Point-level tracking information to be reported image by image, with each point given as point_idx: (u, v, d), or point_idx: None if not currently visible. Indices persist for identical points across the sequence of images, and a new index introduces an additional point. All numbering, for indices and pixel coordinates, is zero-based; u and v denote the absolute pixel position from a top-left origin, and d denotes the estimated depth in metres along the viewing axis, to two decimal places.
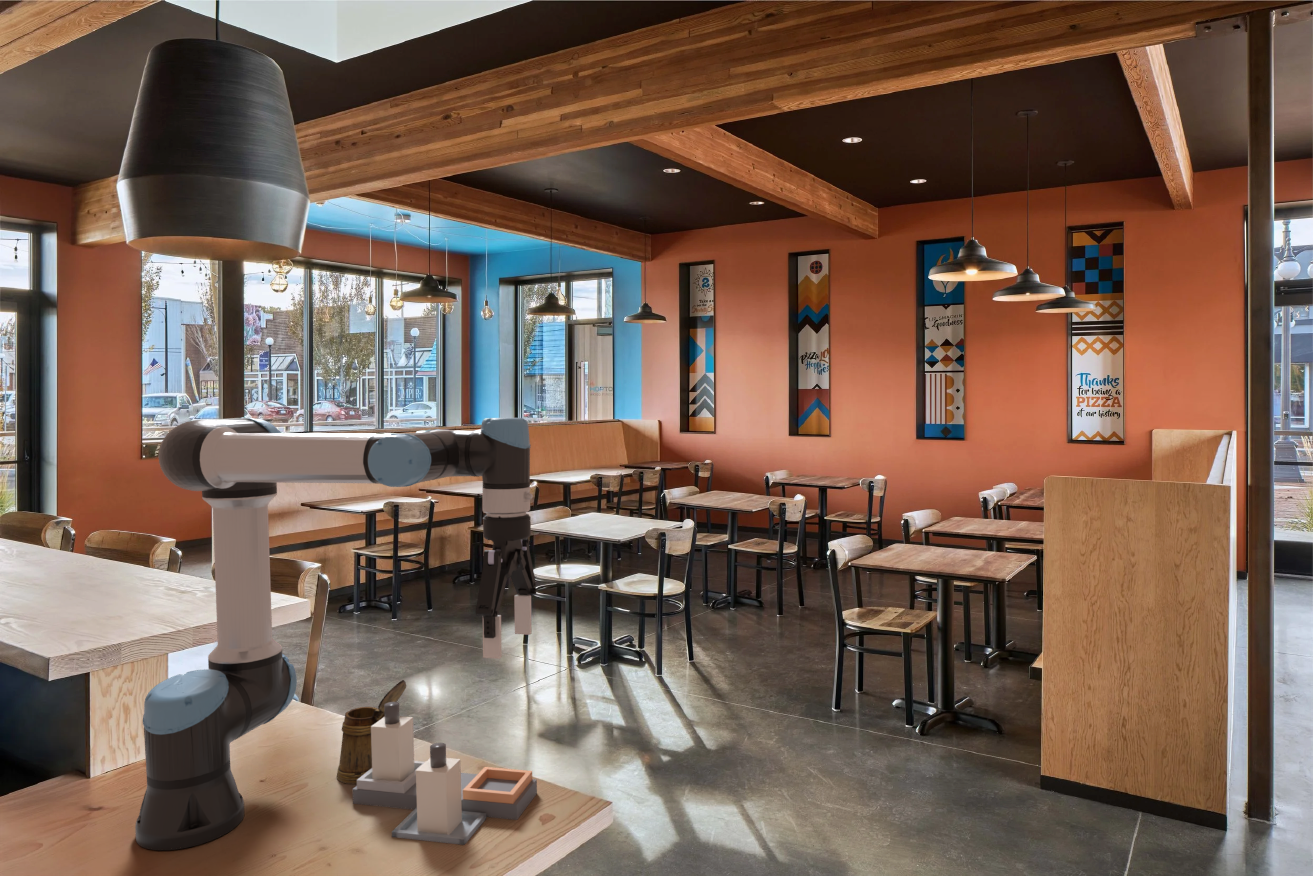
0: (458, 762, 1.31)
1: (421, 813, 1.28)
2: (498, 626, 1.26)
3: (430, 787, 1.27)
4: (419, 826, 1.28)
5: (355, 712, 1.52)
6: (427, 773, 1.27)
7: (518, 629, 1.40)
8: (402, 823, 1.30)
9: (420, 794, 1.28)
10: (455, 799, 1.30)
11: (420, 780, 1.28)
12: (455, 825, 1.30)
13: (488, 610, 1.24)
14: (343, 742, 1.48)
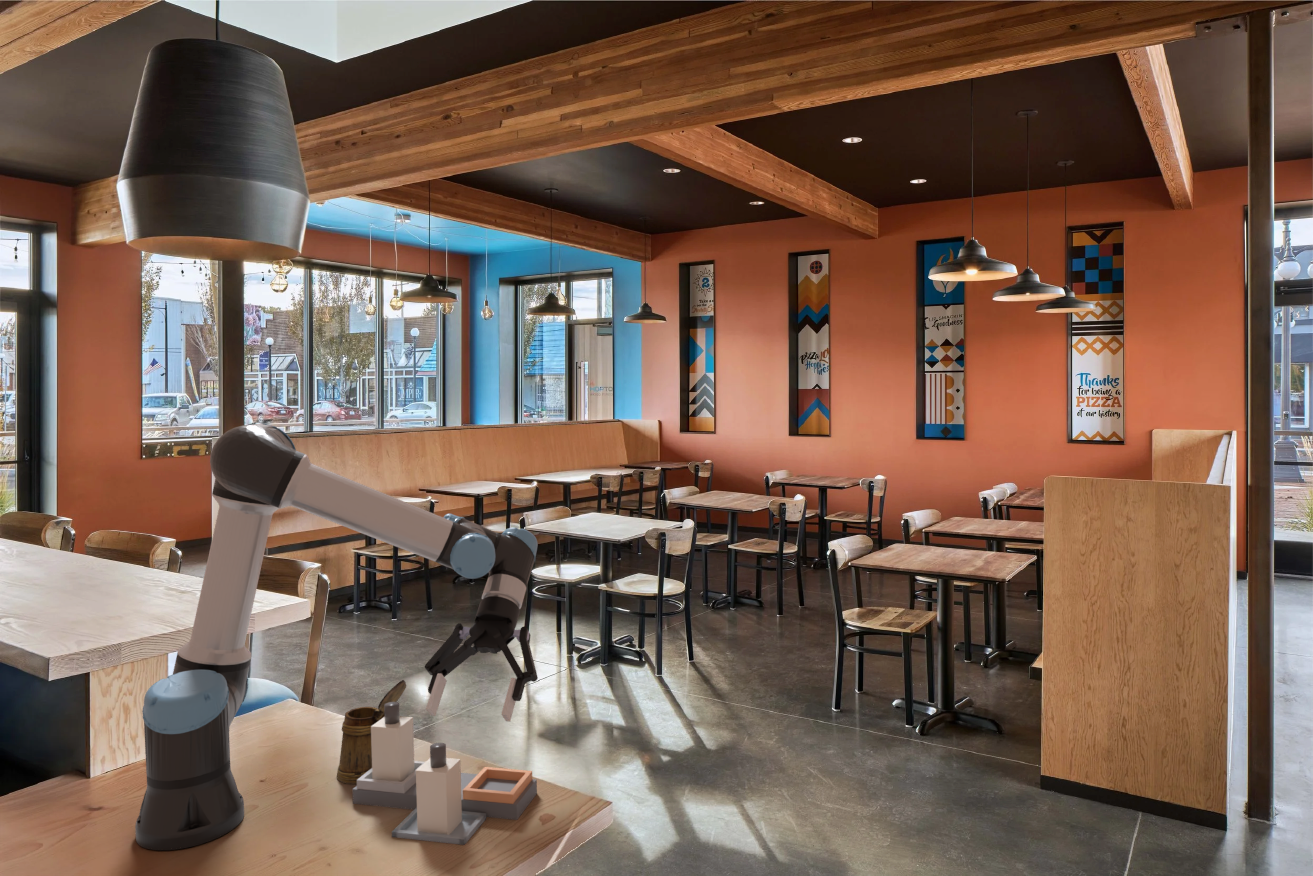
0: (458, 762, 1.31)
1: (421, 813, 1.28)
2: None
3: (430, 787, 1.27)
4: (419, 826, 1.28)
5: (354, 712, 1.52)
6: (427, 773, 1.27)
7: (432, 706, 1.41)
8: (402, 823, 1.30)
9: (420, 794, 1.28)
10: (455, 799, 1.30)
11: (420, 780, 1.28)
12: (455, 825, 1.30)
13: (536, 676, 1.43)
14: (343, 742, 1.48)
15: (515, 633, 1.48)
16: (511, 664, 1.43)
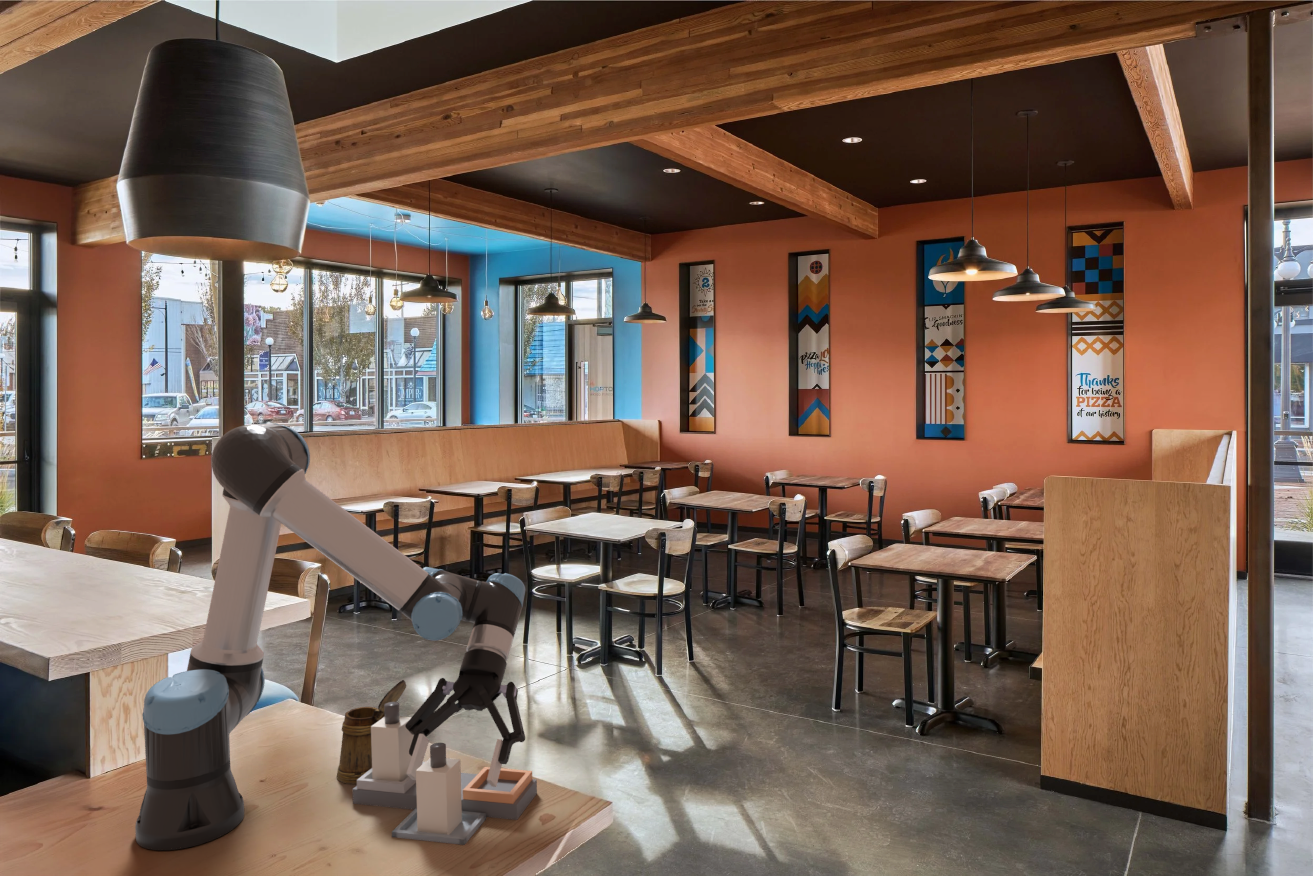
0: (458, 762, 1.31)
1: (421, 813, 1.28)
2: None
3: (430, 787, 1.27)
4: (419, 826, 1.28)
5: (354, 712, 1.52)
6: (427, 773, 1.27)
7: (413, 770, 1.33)
8: (402, 823, 1.30)
9: (420, 794, 1.28)
10: (455, 799, 1.30)
11: (420, 780, 1.28)
12: (455, 825, 1.30)
13: (524, 736, 1.35)
14: (343, 742, 1.48)
15: (501, 689, 1.40)
16: (497, 724, 1.35)
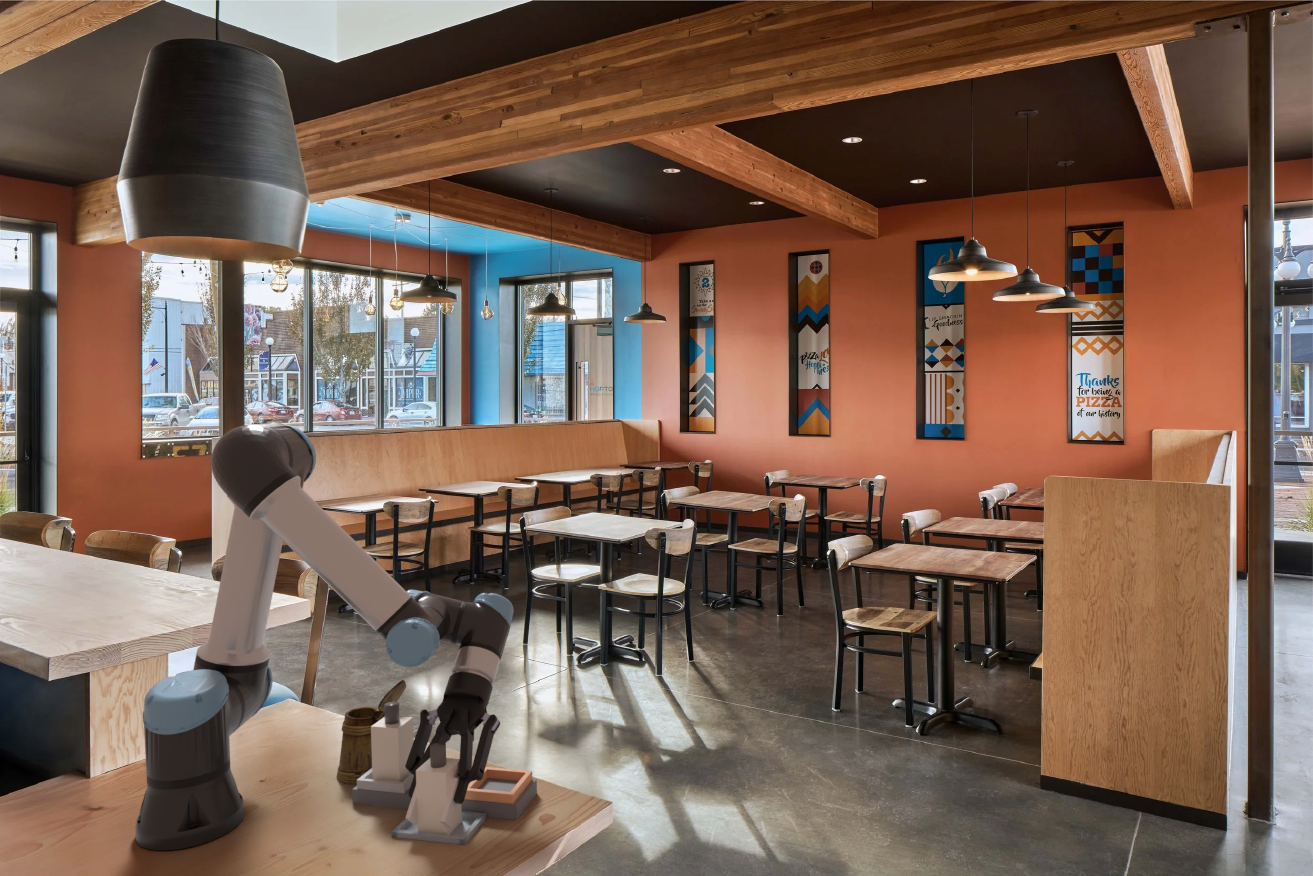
0: (458, 762, 1.31)
1: (421, 813, 1.28)
2: None
3: (430, 787, 1.27)
4: (419, 826, 1.28)
5: (354, 712, 1.52)
6: (427, 773, 1.27)
7: (413, 814, 1.27)
8: (402, 823, 1.30)
9: (420, 794, 1.28)
10: None
11: (420, 780, 1.28)
12: (455, 825, 1.30)
13: (481, 776, 1.31)
14: (343, 742, 1.48)
15: (484, 717, 1.36)
16: (461, 757, 1.31)
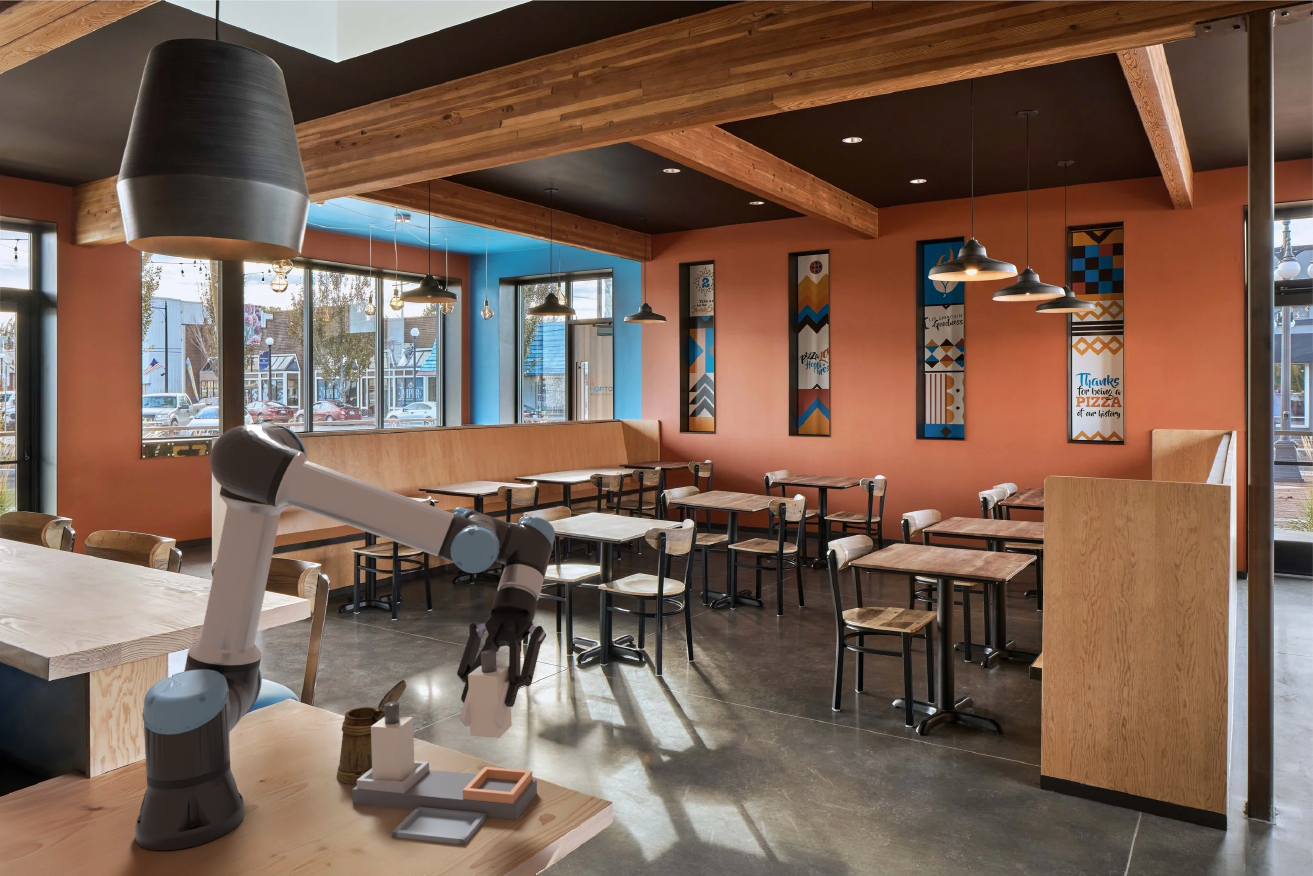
0: (507, 669, 1.37)
1: (473, 716, 1.34)
2: None
3: (482, 690, 1.33)
4: (472, 728, 1.34)
5: (355, 712, 1.52)
6: (479, 677, 1.33)
7: (466, 716, 1.33)
8: (402, 823, 1.30)
9: (472, 697, 1.33)
10: None
11: (472, 684, 1.33)
12: (505, 728, 1.35)
13: (530, 682, 1.36)
14: (343, 742, 1.48)
15: (531, 629, 1.42)
16: (510, 664, 1.37)
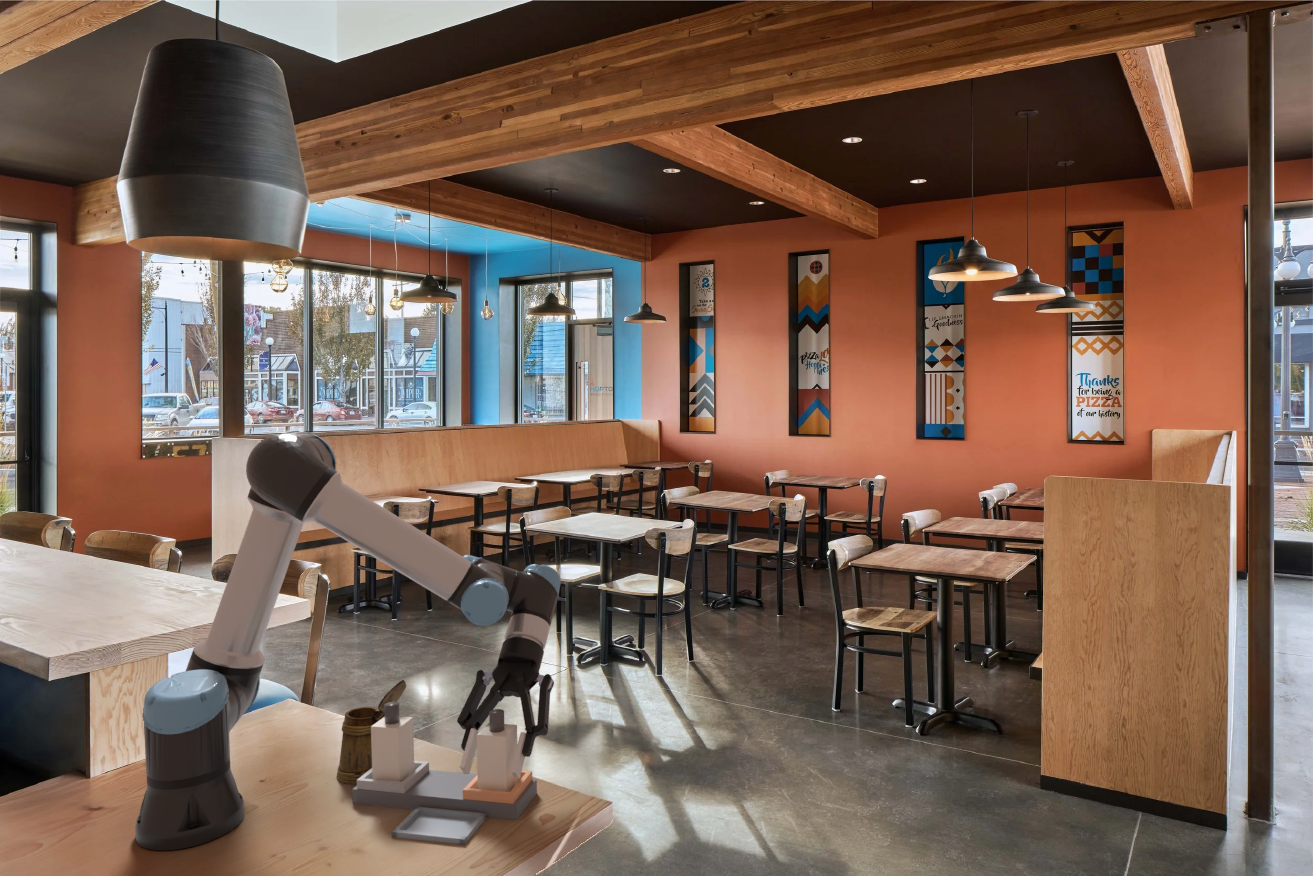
0: (515, 727, 1.38)
1: (481, 775, 1.35)
2: None
3: (490, 750, 1.35)
4: (479, 787, 1.35)
5: (355, 712, 1.52)
6: (488, 737, 1.35)
7: (466, 764, 1.35)
8: (402, 823, 1.30)
9: (480, 757, 1.35)
10: None
11: (480, 743, 1.35)
12: (512, 786, 1.37)
13: (547, 730, 1.38)
14: (343, 742, 1.48)
15: (539, 678, 1.44)
16: (524, 715, 1.39)
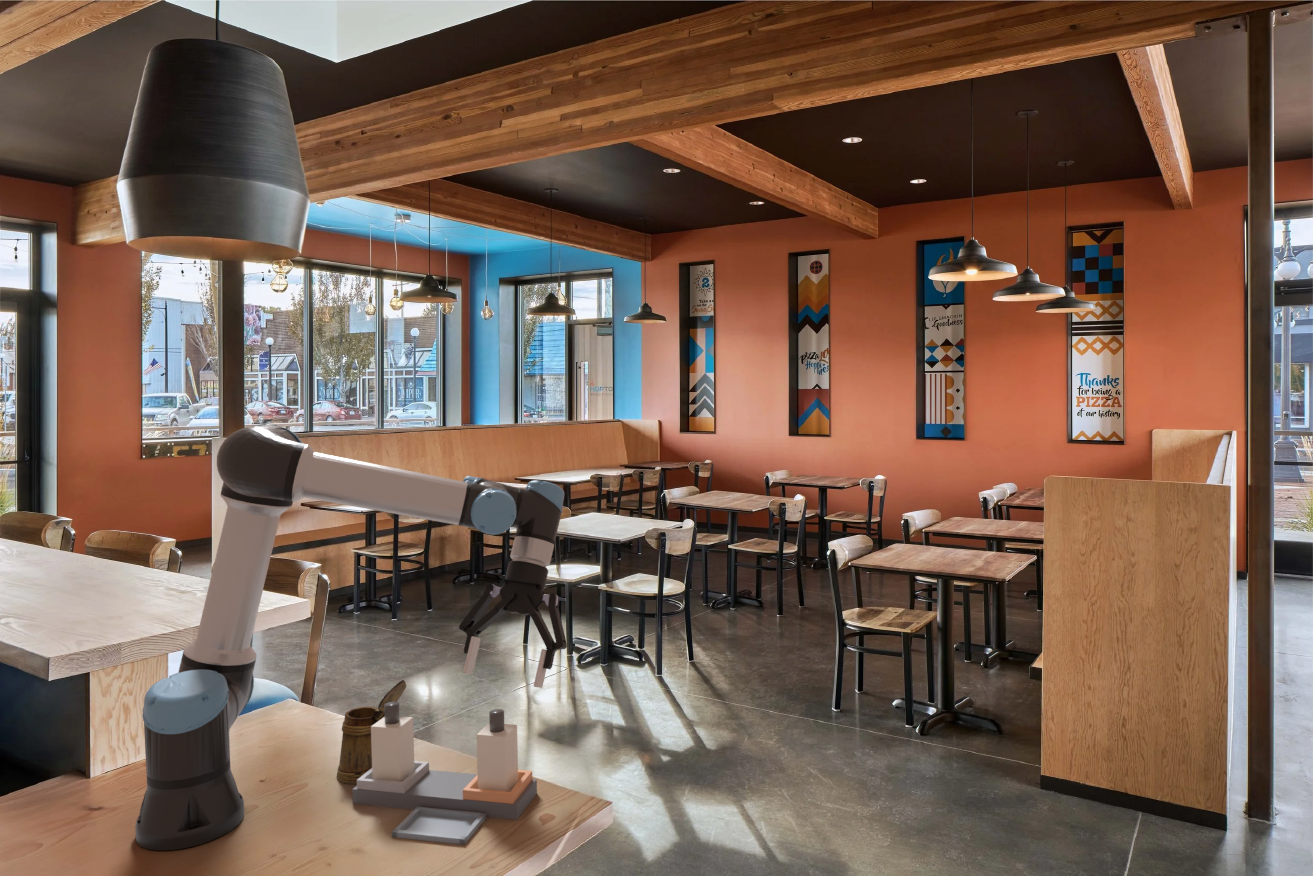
0: (515, 727, 1.38)
1: (481, 775, 1.35)
2: None
3: (490, 750, 1.35)
4: (479, 787, 1.35)
5: (355, 712, 1.52)
6: (488, 737, 1.35)
7: (469, 669, 1.50)
8: (402, 823, 1.30)
9: (480, 757, 1.35)
10: (513, 762, 1.37)
11: (480, 743, 1.35)
12: (512, 786, 1.37)
13: (566, 644, 1.49)
14: (343, 742, 1.48)
15: (544, 598, 1.52)
16: (541, 634, 1.49)
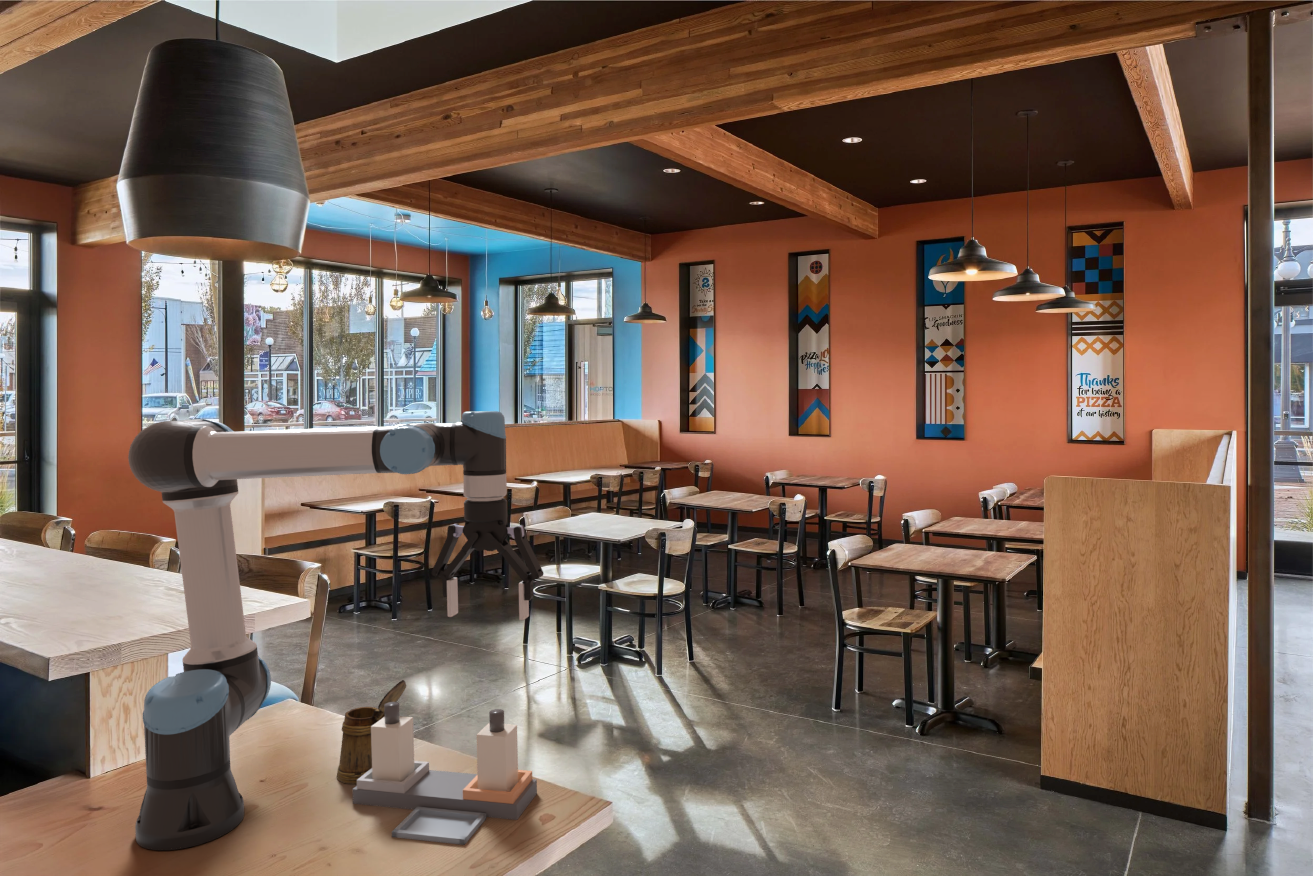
0: (515, 727, 1.38)
1: (481, 775, 1.35)
2: None
3: (490, 750, 1.35)
4: (479, 787, 1.35)
5: (355, 712, 1.52)
6: (488, 737, 1.35)
7: (453, 611, 1.49)
8: (402, 823, 1.30)
9: (480, 757, 1.35)
10: (513, 762, 1.37)
11: (480, 743, 1.35)
12: (512, 786, 1.37)
13: (542, 572, 1.47)
14: (343, 742, 1.48)
15: (509, 532, 1.46)
16: (514, 568, 1.45)
